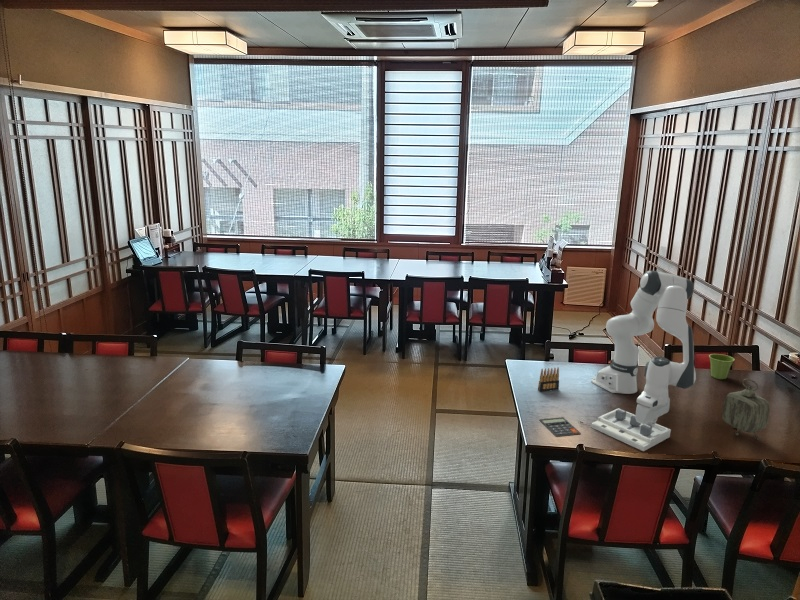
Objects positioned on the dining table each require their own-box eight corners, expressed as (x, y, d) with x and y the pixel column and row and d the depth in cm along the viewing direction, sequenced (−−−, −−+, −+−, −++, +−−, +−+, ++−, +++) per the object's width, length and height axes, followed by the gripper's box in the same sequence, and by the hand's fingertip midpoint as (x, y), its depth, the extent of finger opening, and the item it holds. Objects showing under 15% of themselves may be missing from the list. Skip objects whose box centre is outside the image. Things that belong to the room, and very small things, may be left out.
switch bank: (591, 427, 229) (591, 419, 228) (617, 415, 241) (618, 408, 240) (643, 451, 211) (644, 443, 210) (669, 437, 222) (670, 429, 221)
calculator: (555, 435, 221) (539, 419, 235) (555, 437, 221) (539, 420, 235) (581, 433, 223) (563, 416, 238) (581, 435, 224) (563, 418, 238)
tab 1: (615, 418, 233) (616, 409, 232) (619, 416, 235) (620, 407, 234) (621, 420, 230) (622, 412, 229) (625, 418, 232) (626, 410, 231)
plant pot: (726, 374, 290) (730, 354, 287) (734, 382, 279) (738, 362, 276) (702, 371, 293) (705, 352, 290) (709, 380, 281) (713, 360, 279)
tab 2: (629, 424, 227) (630, 415, 226) (633, 422, 229) (635, 413, 228) (636, 427, 225) (637, 418, 224) (640, 425, 227) (641, 416, 226)
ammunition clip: (556, 388, 269) (558, 366, 266) (558, 389, 267) (560, 367, 264) (537, 390, 266) (539, 367, 263) (539, 391, 264) (541, 369, 261)
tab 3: (639, 433, 220) (641, 424, 219) (644, 431, 221) (645, 422, 220) (646, 436, 217) (648, 427, 216) (651, 434, 219) (652, 425, 218)
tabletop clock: (764, 441, 220) (775, 385, 213) (748, 444, 217) (759, 388, 210) (732, 425, 233) (742, 372, 226) (717, 428, 230) (726, 374, 224)
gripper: (661, 387, 225) (656, 417, 229) (634, 399, 213) (630, 430, 217) (675, 392, 220) (671, 423, 224) (649, 405, 209) (644, 437, 212)
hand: (650, 427), depth 220 cm, fingers closed
